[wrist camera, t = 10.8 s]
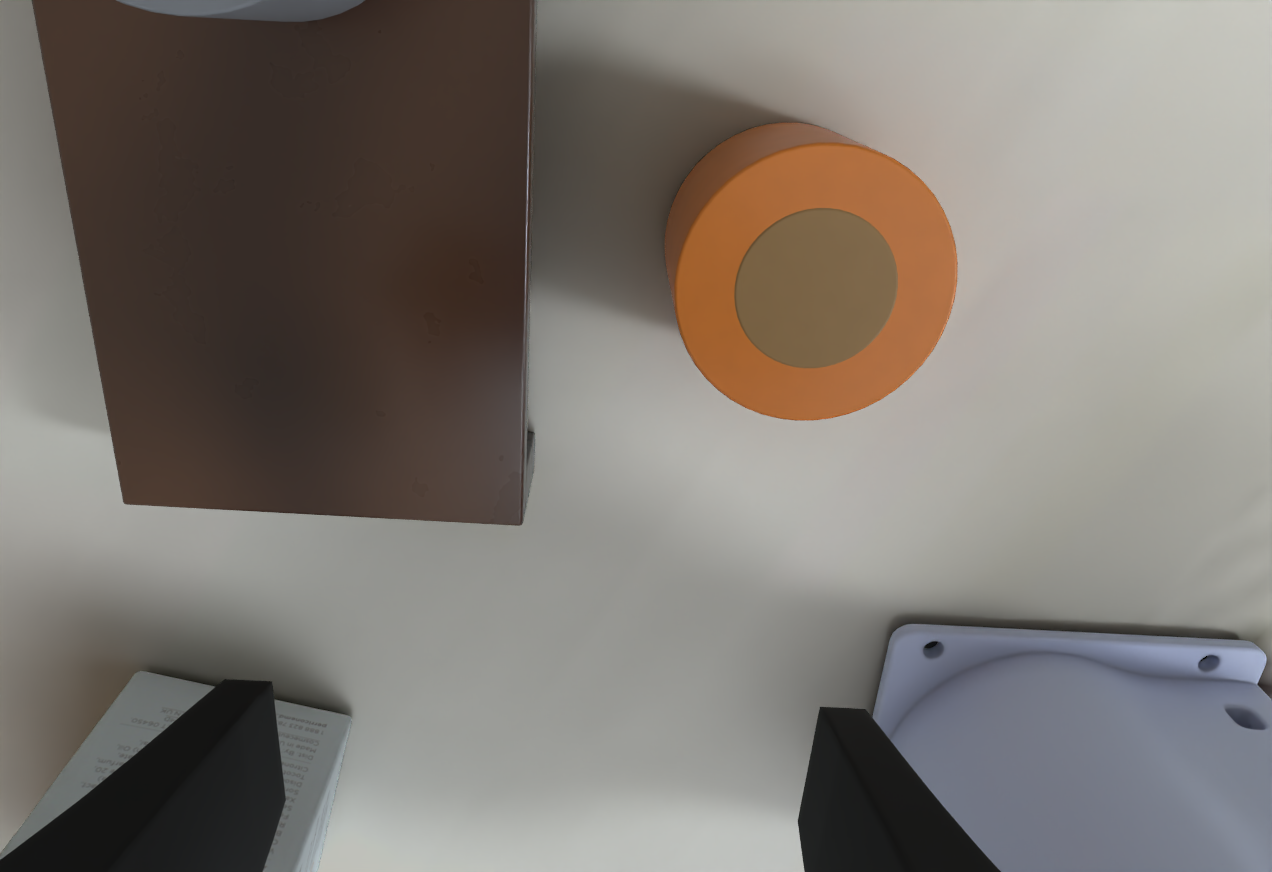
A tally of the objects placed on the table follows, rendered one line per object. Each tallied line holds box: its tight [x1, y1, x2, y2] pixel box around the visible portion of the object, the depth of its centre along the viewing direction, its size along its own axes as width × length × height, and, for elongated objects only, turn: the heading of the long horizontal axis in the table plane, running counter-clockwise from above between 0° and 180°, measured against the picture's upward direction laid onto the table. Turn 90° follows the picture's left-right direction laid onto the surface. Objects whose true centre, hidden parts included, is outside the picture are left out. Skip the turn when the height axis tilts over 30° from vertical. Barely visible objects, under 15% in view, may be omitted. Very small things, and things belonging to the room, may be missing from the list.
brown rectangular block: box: [32, 0, 537, 526], centre depth 16 cm, size 8×15×3 cm, turn 176°
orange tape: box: [665, 123, 957, 420], centre depth 17 cm, size 5×5×4 cm
